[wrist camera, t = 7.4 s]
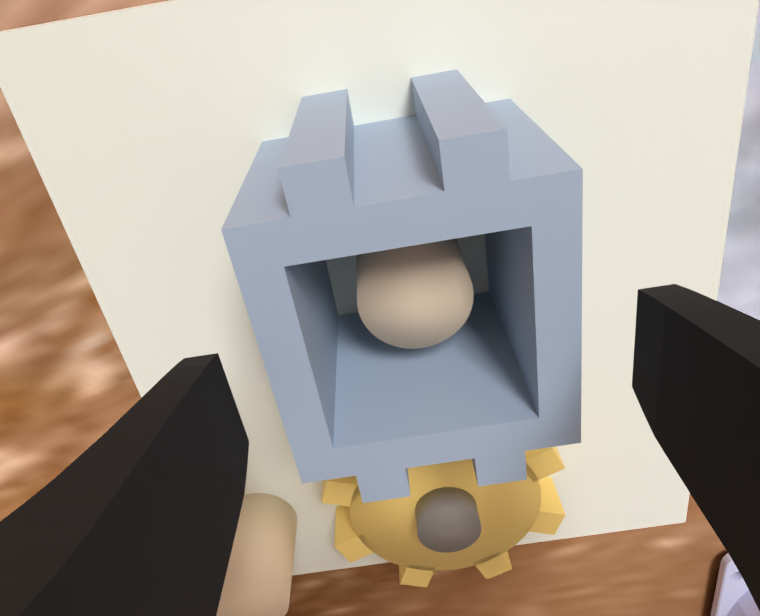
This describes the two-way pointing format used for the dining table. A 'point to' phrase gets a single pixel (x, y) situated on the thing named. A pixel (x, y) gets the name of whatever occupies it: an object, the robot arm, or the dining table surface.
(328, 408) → the ridged hollow box frame
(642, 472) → the board
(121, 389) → the dining table surface
